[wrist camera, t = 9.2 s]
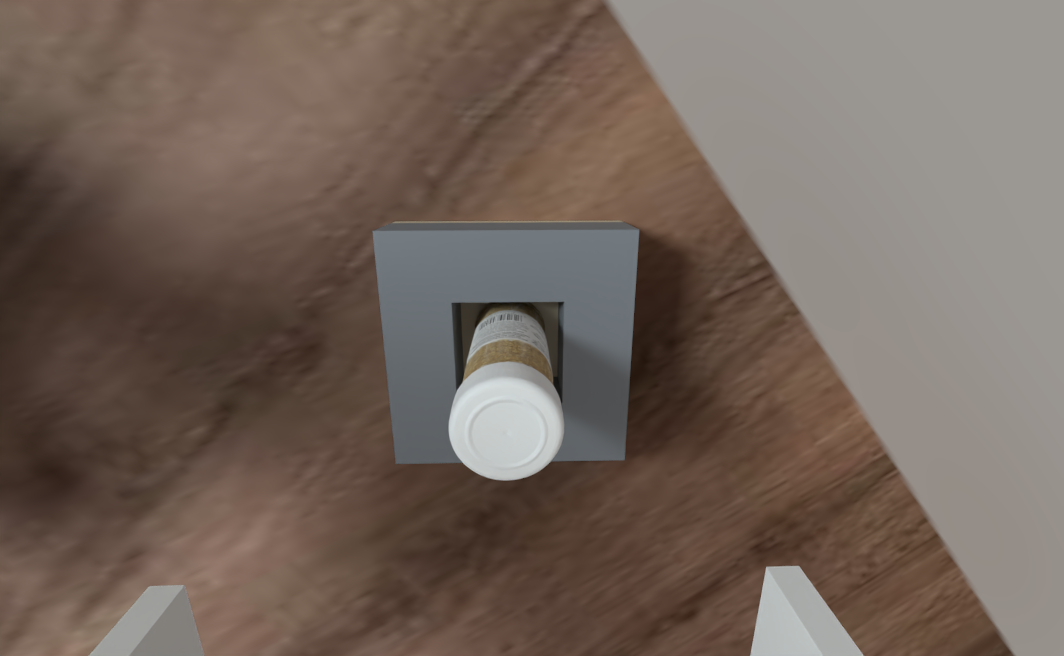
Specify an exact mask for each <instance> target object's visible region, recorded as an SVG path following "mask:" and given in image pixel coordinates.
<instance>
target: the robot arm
mask: <svg viewBox="0 0 1064 656" xmlns="http://www.w3.org/2000/svg"><path fill="white" fill-rule="evenodd" d="M89 656H204V653H203V649H202V645H201V642H200V638H199V635H198V631H197V627H196V624H195V620H194V617H193V613H192V609H191V606H190V602H189V599H188V595H187V591H186V588H185V585H172V586H149V587H148V588H147V589H146V591H145V592H144V593H143V594H142V595H141V596H140V597H139V599H138V600H137V601H136V602H135V603H134V604H133V606H132V607H131V608H130V609H129V610H128V611H127V612H126V614H125V615H124V616H123V617H122V618H121V619H120V620H119V622H118V623H117V624H116V625H115V626H114V627H113V628H112V630H111V631H110V632H109V633H108V634H107V635H106V637H105V638H104V639H103V640H102V641H101V642H100V643H99V645H98V646H97V647H96V648H95V649H94V650H93V651H92V653H91V654H90V655H89ZM750 656H864V655H863V654H862V653H861V651H860V650H859V648H858V647H857V646H856V644H855V643H854V642H853V640H852V639H851V637H850V636H849V635H848V633H847V632H846V630H845V629H844V628H843V626H842V625H841V624H840V622H839V621H838V619H837V618H836V617H835V615H834V614H833V612H832V611H831V610H830V608H829V607H828V606H827V604H826V603H825V601H824V600H823V599H822V597H821V596H820V594H819V593H818V592H817V590H816V589H815V588H814V586H813V585H812V583H811V582H810V581H809V579H808V578H807V576H806V575H805V574H804V572H803V571H802V570H801V568H800V567H799V566H778V567H766V572H765V577H764V583H763V588H762V594H761V599H760V605H759V610H758V616H757V621H756V627H755V633H754V638H753V644H752V649H751V655H750Z"/></svg>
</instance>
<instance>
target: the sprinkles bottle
mask: <svg viewBox="0 0 1064 656" xmlns="http://www.w3.org/2000/svg"><path fill="white" fill-rule="evenodd" d="M563 436H564V418H563V411H562V406H561V401H560V398H559V395H558V393H557V391H556V389H555V387H554V385H553V374H552V368H551V363H550V357H549V351H548V345H547V340H546V336H545V323H544V319H543V317H542V315H541V313H540V311H539V310H538V309H537V308H536V307H535V306H534V305H533V304H532V303H530V302H490V303H488V304H487V305H486V306H485V307H484V308H483V310H481V311H480V313H479V315H478V317H477V320H476V323H475V333H474V337H473V340H472V344H471V347H470V351H469V355H468V358H467V364H466V368H465V373H464V378H463V382H462V384H461V386H460V387H459V388H458V390H457V392H456V395H455V397H454V400H453V404H452V408H451V413H450V418H449V438H450V442H451V445H452V447H453V450H454V451H455V453H456V455H457V456H458V458H459V459H460V460H461V461H462V462H463V463H464V464H465V465H466V466H467V467H468V468H469V469H471V470H472V471H474V472H475V473H477V474H479V475H482V476H484V477H487V478H490V479H495V480H517V479H522V478H525V477H528V476H531V475H533V474H535V473H537V472H539V471H540V470H542V469H543V468H544V467H545V466H547V465H548V464H549V463H550V462H551V461H552V459H553V458H554V457H555V455H556V454H557V452H558V450H559V448H560V446H561V444H562V440H563Z"/></svg>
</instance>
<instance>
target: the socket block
mask: <svg viewBox="0 0 1064 656" xmlns="http://www.w3.org/2000/svg"><path fill="white" fill-rule="evenodd" d="M373 241H374V251H375V261H376V271H377V281H378V291H379V301H380V311H381V321H382V331H383V341H384V351H385V362H386V372H387V382H388V392H389V402H390V412H391V422H392V432H393V442H394V452H395V462H396V464H421V463H463V462H462V461H461V460H460V459H459V458H458V456H457V455H456V453H455V451H454V450H453V447H452V445H451V442H450V438H449V418H450V413H451V408H452V404H453V400H454V397H455V395H456V392H457V390H458V388H459V387H460V386H461V384H462V382H463V378H464V373H465V368H466V364H467V358H468V355H469V351H470V347H471V344H472V340H473V337H474V333H475V323H476V320H477V317H478V315H479V313H480V311H481V310H483V308H484V307H485V306H486V305H487V304H488V303H490V302H530V303H532V304H533V305H534V306H535V307H536V308H537V309H538V310H539V311H540V313H541V315H542V317H543V319H544V323H545V336H546V340H547V345H548V351H549V357H550V363H551V368H552V374H553V385H554V387H555V389H556V391H557V393H558V395H559V398H560V401H561V406H562V411H563V418H564V436H563V440H562V444H561V446H560V448H559V450H558V452H557V454H556V455H555V457H554V458H553V459H552V461H605V460H625V446H626V431H627V415H628V400H629V384H630V368H631V353H632V337H633V321H634V306H635V290H636V274H637V259H638V243H639V229H637V228H635V227H633V226H631V225H629V224H627V223H625V222H623V221H402V222H393V223H391V224H388V225H386V226H383V227H381V228H378V229H376V230H374V231H373Z"/></svg>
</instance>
